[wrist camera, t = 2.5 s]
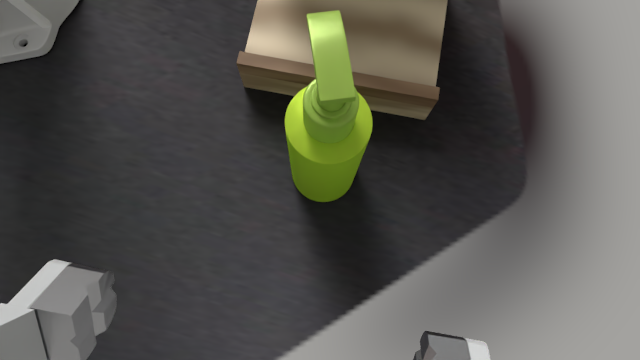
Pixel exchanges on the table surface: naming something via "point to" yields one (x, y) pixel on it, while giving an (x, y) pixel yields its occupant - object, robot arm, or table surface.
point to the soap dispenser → (327, 116)
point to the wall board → (352, 50)
